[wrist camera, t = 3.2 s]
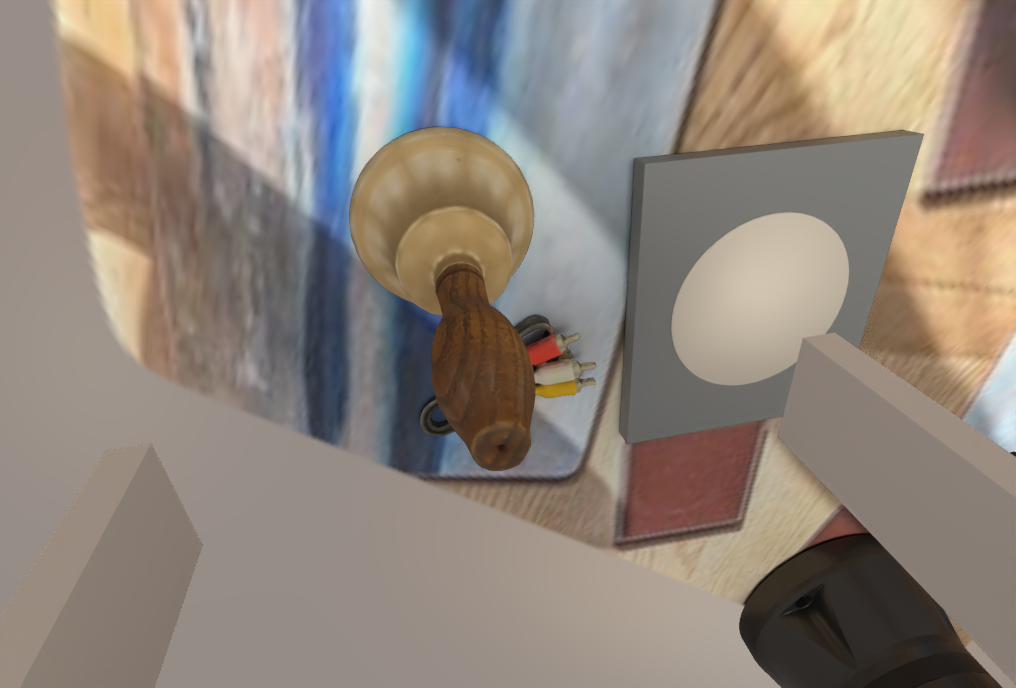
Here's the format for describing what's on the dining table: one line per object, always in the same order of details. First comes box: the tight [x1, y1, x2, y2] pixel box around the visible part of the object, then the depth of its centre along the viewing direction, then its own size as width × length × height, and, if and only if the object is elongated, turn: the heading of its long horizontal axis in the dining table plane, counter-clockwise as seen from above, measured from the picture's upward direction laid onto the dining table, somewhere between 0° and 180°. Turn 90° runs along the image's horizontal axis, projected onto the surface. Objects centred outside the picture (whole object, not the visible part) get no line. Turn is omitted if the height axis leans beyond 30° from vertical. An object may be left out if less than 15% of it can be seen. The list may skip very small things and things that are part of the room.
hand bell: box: [350, 127, 535, 471], centre depth 18 cm, size 8×8×16 cm
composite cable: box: [420, 316, 596, 436], centre depth 29 cm, size 10×5×2 cm, turn 111°
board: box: [620, 130, 924, 444], centre depth 30 cm, size 16×14×1 cm
